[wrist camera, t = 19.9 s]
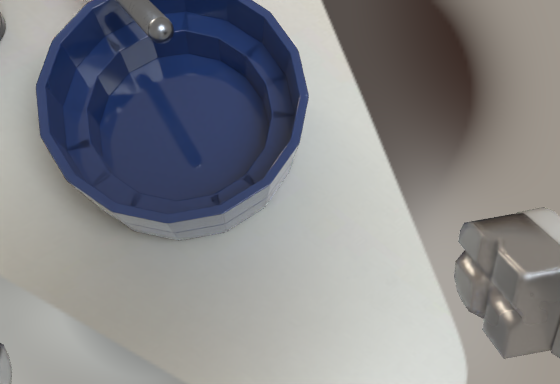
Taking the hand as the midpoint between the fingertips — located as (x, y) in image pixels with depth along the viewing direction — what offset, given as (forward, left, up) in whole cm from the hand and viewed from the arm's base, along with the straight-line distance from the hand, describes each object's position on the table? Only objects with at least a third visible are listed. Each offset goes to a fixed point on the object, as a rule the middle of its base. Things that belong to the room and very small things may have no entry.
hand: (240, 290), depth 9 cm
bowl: (+10, +6, -22) cm, 25 cm away
